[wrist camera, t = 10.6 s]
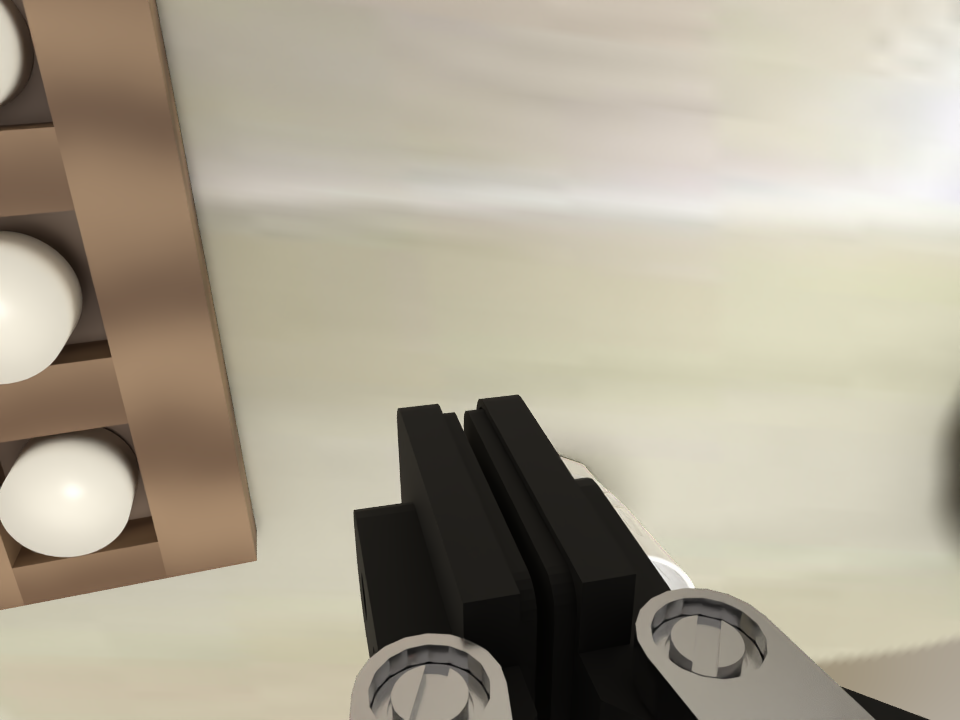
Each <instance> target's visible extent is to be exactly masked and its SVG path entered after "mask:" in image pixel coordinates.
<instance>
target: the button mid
mask: <svg viewBox="0 0 960 720" xmlns="http://www.w3.org/2000/svg"><path fill="white" fill-rule="evenodd" d="M82 304H83V301H82V291H81V286H80V283H79V280H78V278H77V276H76V274H75V272H74V270H73V269H72V267H71V266H70V264H69V263H68V262H67V261H66V260H65V258H64V257H63V256H62V255H60V254H59V253H58V252H57V251H56V250H55V249H53V248H52V247H50V246H49V245H48V244H46V243H44V242H42V241H40V240H38V239H36V238H34V237H31V236H28V235H25V234H22V233H17V232H11V231H0V384H9V383H15V382H19V381H22V380H25V379H28V378H30V377H33V376H35V375H37V374H38V373H40V372H41V371H43V370H44V369H46V368H47V367H48V366H49V365H50V364H51V363H52V362H53V361H54V360H55V359H56V358H57V356H58V355H59V353H60V352H61V350H62V348H63V347H64V345H65V343H66V342H67V340H68V338H69V337H70V335H71V334H72V332H73V330H74V329H75V327H76V325H77V323H78V321H79V319H80V315H81V312H82Z"/></svg>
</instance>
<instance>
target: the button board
mask: <svg viewBox="0 0 960 720" xmlns="http://www.w3.org/2000/svg"><path fill="white" fill-rule="evenodd" d="M11 1H12V2H13V3H14V5H15V6H16V7H17V9H18V10H19V12H20V13H21V15H22V17H23V18H24V20H25V23H26V25H27V27H28V30H29V33H30V36H31V40H32V46H33V64H32V69H31V73H30V76H29V79H28V81H27V83H26V85H25V86H24V88H23V90H22V91H21V92H20V93H19V94H18V95H17V97H15V98H14V99H13V100H12V101H11V102H9V103H8V104H6V105H4V106H3V107H0V231H11V232H17V233H22V234H25V235H28V236H31V237H34V238H36V239H38V240H40V241H42V242H44V243H46V244H48V245H49V246H50V247H52V248H53V249H55V250H56V251H57V252H58V253H59V254H60V255H62V256H63V257H64V258H65V260H66V261H67V262H68V263H69V264H70V266H71V267H72V269H73V270H74V272H75V274H76V276H77V278H78V280H79V283H80V286H81V291H82V301H83V304H82V312H81V315H80V319H79V321H78V323H77V325H76V327H75V329H74V330H73V332H72V334H71V335H70V337H69V338H68V340H67V342H66V343H65V345H64V347H63V348H62V350H61V352H60V353H59V355H58V356H57V358H56V359H55V360H54V361H53V362H52V363H51V364H50V365H49V366H48V367H47V368H46V369H44V370H43V371H41V372H40V373H38V374H37V375H35V376H33V377H30V378H28V379H25V380H22V381H19V382H15V383H9V384H0V489H1V487H2V485H3V483H4V481H5V479H6V477H7V475H8V474H9V472H10V470H11V468H12V466H13V465H14V463H15V461H16V459H17V458H18V456H19V454H20V452H21V451H22V449H23V448H24V446H25V445H26V444H27V443H28V441H29V440H30V439H32V438H34V437H40V436H47V435H54V434H60V433H67V432H73V431H80V430H87V429H93V428H100V427H101V428H104V429H106V430H108V431H110V432H112V433H114V434H115V435H117V436H119V437H120V438H121V439H122V440H123V441H124V442H125V443H126V444H127V445H128V446H129V447H130V449H131V450H132V451H133V453H134V455H135V457H136V460H137V463H138V468H139V479H138V484H137V488H136V492H135V496H134V499H133V503H132V507H131V511H130V515H129V518H128V521H127V523H126V525H125V527H124V529H123V530H122V532H121V533H120V534H119V536H118V537H117V538H116V539H115V540H113V541H112V542H111V543H110V544H108V545H107V546H105V547H103V548H102V549H99V550H97V551H95V552H92V553H89V554H86V555H82V556H75V557H55V556H49V555H44V554H41V553H38V552H35V551H33V550H30V549H28V548H26V547H25V546H23V545H21V544H20V543H19V542H17V541H16V540H15V539H14V538H13V537H12V536H11V535H10V534H9V533H8V532H7V531H6V529H5V528H4V526H3V524H2V522H1V520H0V610H3V609H8V608H14V607H19V606H24V605H29V604H34V603H40V602H45V601H50V600H55V599H60V598H65V597H71V596H76V595H81V594H86V593H91V592H97V591H102V590H107V589H112V588H117V587H123V586H128V585H133V584H138V583H143V582H148V581H154V580H159V579H164V578H169V577H174V576H180V575H185V574H190V573H195V572H200V571H206V570H211V569H216V568H221V567H226V566H231V565H237V564H242V563H247V562H252V561H257V530H256V525H255V520H254V515H253V509H252V504H251V499H250V494H249V488H248V483H247V478H246V473H245V467H244V462H243V457H242V452H241V446H240V441H239V436H238V431H237V425H236V420H235V415H234V410H233V404H232V399H231V394H230V388H229V383H228V378H227V373H226V367H225V362H224V357H223V352H222V346H221V341H220V336H219V331H218V325H217V320H216V315H215V310H214V304H213V299H212V294H211V289H210V283H209V278H208V273H207V268H206V262H205V257H204V252H203V247H202V241H201V236H200V231H199V226H198V220H197V215H196V210H195V205H194V199H193V194H192V189H191V183H190V178H189V173H188V168H187V162H186V157H185V152H184V147H183V141H182V136H181V131H180V126H179V120H178V115H177V110H176V105H175V99H174V94H173V89H172V84H171V78H170V73H169V68H168V63H167V57H166V52H165V47H164V42H163V36H162V31H161V26H160V21H159V15H158V10H157V5H156V0H11Z"/></svg>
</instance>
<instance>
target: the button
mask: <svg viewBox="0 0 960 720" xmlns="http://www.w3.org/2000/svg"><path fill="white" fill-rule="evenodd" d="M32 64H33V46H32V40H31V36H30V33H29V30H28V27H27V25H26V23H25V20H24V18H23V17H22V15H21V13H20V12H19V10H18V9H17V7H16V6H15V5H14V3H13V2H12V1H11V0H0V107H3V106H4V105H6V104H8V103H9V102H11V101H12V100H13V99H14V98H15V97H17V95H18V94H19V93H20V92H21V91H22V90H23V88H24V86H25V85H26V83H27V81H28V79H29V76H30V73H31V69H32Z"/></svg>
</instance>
